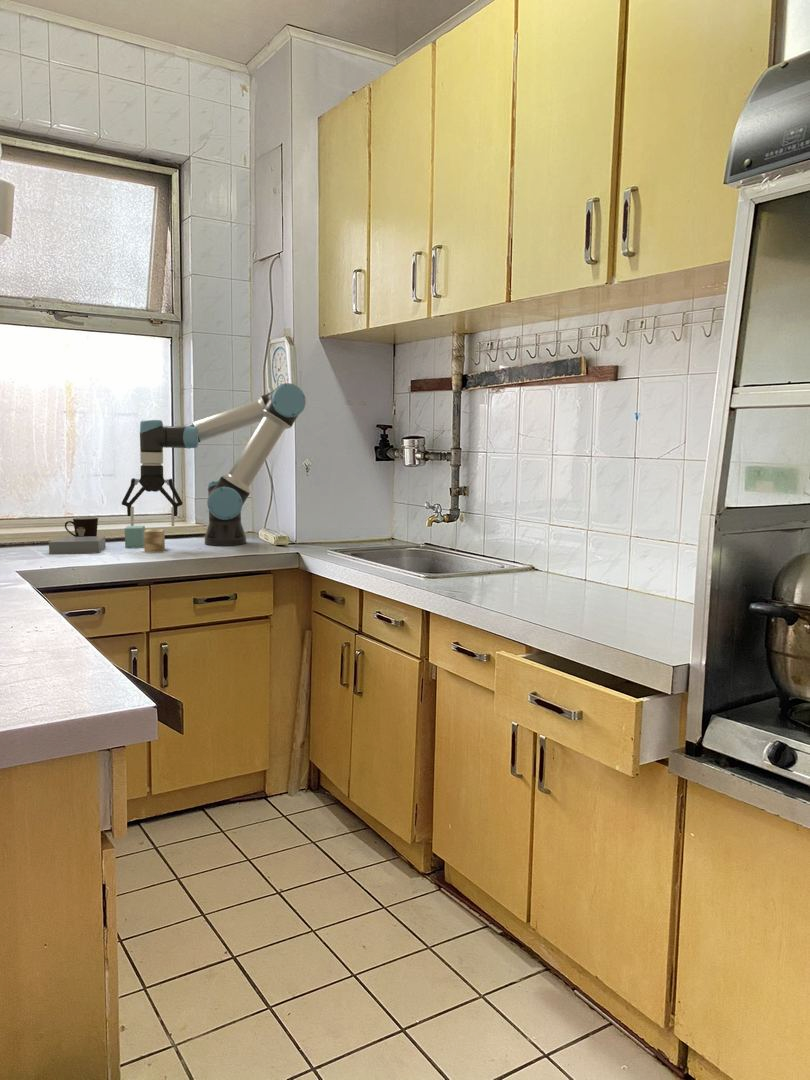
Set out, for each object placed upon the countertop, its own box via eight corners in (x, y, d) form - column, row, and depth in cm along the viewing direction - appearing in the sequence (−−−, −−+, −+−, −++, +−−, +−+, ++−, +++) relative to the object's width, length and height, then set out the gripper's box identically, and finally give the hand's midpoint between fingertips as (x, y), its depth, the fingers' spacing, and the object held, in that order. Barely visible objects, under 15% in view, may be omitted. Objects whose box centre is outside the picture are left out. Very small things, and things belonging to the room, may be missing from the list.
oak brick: (164, 548, 294) (164, 529, 293) (162, 551, 286) (162, 531, 285) (147, 548, 292) (146, 529, 291) (144, 552, 285) (144, 532, 284)
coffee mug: (104, 544, 302) (103, 517, 300) (84, 547, 294) (82, 519, 293) (84, 542, 308) (82, 515, 307) (63, 545, 301) (62, 517, 299)
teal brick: (145, 544, 304) (144, 525, 303) (142, 547, 296) (142, 528, 295) (128, 544, 302) (127, 526, 302) (125, 547, 295) (124, 528, 294)
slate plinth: (105, 547, 295) (105, 536, 295) (99, 552, 282) (98, 541, 281) (58, 548, 292) (57, 537, 292) (49, 553, 279) (48, 542, 278)
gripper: (189, 464, 291) (190, 524, 294) (115, 463, 286) (116, 524, 289) (188, 465, 284) (188, 526, 287) (112, 464, 279) (113, 526, 282)
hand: (152, 525), depth 288 cm, fingers open, 13 cm apart
